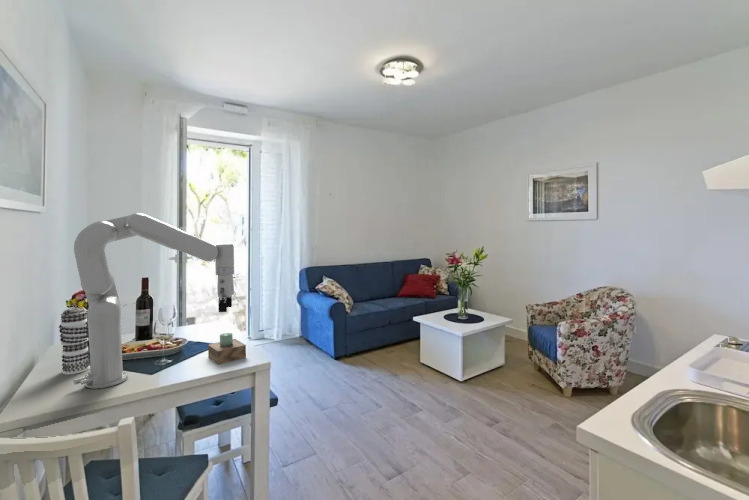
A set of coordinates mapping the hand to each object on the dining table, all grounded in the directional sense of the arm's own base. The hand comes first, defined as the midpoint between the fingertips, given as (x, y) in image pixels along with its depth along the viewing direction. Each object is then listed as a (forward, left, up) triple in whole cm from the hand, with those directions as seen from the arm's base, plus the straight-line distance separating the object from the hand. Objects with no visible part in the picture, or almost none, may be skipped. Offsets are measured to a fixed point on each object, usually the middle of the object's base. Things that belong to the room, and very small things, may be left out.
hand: (225, 309), depth 154 cm
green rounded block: (0, 0, -16) cm, 16 cm away
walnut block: (0, 0, -22) cm, 22 cm away
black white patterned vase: (-43, +37, -22) cm, 61 cm away
